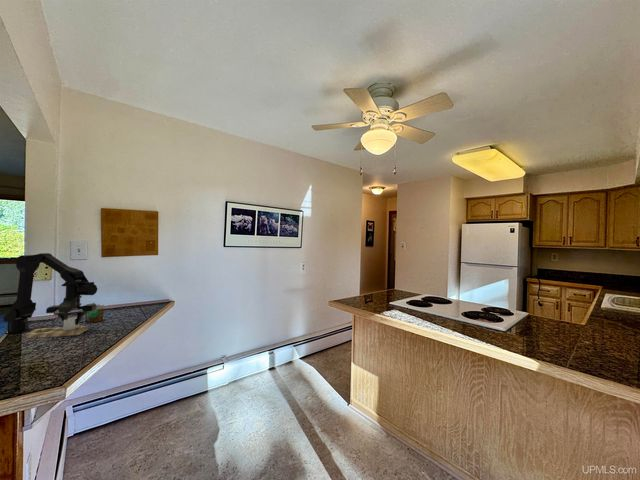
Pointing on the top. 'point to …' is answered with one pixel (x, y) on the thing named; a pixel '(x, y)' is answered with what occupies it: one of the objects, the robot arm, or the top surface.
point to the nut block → (70, 324)
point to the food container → (96, 314)
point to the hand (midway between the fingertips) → (71, 325)
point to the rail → (54, 332)
